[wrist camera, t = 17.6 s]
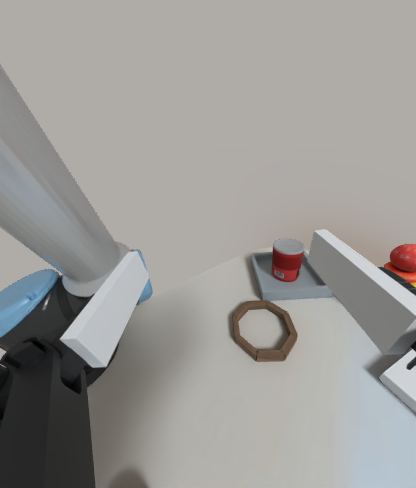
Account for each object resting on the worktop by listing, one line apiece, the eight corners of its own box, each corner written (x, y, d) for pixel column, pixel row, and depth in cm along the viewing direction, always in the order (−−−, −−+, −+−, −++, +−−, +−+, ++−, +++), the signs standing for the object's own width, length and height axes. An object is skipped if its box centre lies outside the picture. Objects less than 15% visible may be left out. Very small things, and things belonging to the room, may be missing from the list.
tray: (262, 301, 45) (262, 292, 43) (250, 261, 60) (250, 254, 58) (331, 297, 43) (335, 287, 41) (301, 257, 58) (302, 249, 56)
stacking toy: (350, 295, 42) (379, 233, 33) (392, 303, 39) (438, 236, 29) (359, 321, 36) (397, 255, 27) (410, 333, 33) (473, 262, 23)
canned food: (302, 282, 47) (309, 252, 41) (273, 282, 48) (276, 253, 43) (294, 266, 53) (299, 237, 48) (269, 266, 55) (271, 239, 49)
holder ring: (237, 362, 33) (236, 357, 32) (231, 306, 45) (231, 302, 44) (305, 360, 32) (306, 355, 31) (281, 304, 43) (282, 299, 42)
